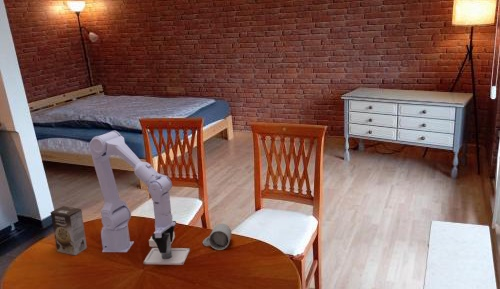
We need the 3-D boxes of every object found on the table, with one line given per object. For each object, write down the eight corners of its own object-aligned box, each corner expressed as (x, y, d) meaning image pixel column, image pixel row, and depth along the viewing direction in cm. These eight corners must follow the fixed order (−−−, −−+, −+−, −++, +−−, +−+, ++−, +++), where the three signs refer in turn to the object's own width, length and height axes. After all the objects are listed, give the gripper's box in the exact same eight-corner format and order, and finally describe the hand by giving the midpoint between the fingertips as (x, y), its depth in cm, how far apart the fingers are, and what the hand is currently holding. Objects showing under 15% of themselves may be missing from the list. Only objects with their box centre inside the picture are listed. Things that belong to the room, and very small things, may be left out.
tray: (143, 265, 154) (143, 262, 153) (152, 250, 163) (152, 247, 163) (183, 266, 152) (182, 262, 152) (189, 251, 162) (189, 248, 161)
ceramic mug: (232, 239, 169) (231, 221, 167) (229, 250, 161) (228, 230, 159) (205, 239, 170) (203, 221, 168) (201, 250, 162) (199, 231, 160)
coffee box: (56, 252, 165) (49, 212, 161) (69, 244, 171) (62, 205, 167) (75, 256, 162) (68, 215, 158) (87, 247, 168) (81, 208, 163)
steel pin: (159, 258, 156) (157, 235, 154) (164, 253, 160) (162, 230, 157) (169, 259, 155) (166, 236, 153) (173, 254, 159) (171, 231, 156)
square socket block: (149, 247, 166) (148, 240, 165) (155, 238, 173) (155, 231, 172) (169, 248, 165) (168, 240, 164) (174, 238, 172) (174, 231, 171)
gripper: (168, 220, 146) (171, 257, 149) (179, 202, 159) (182, 237, 163) (147, 220, 146) (151, 257, 150) (160, 202, 160) (163, 237, 164)
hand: (166, 247), depth 157 cm, fingers open, 7 cm apart
